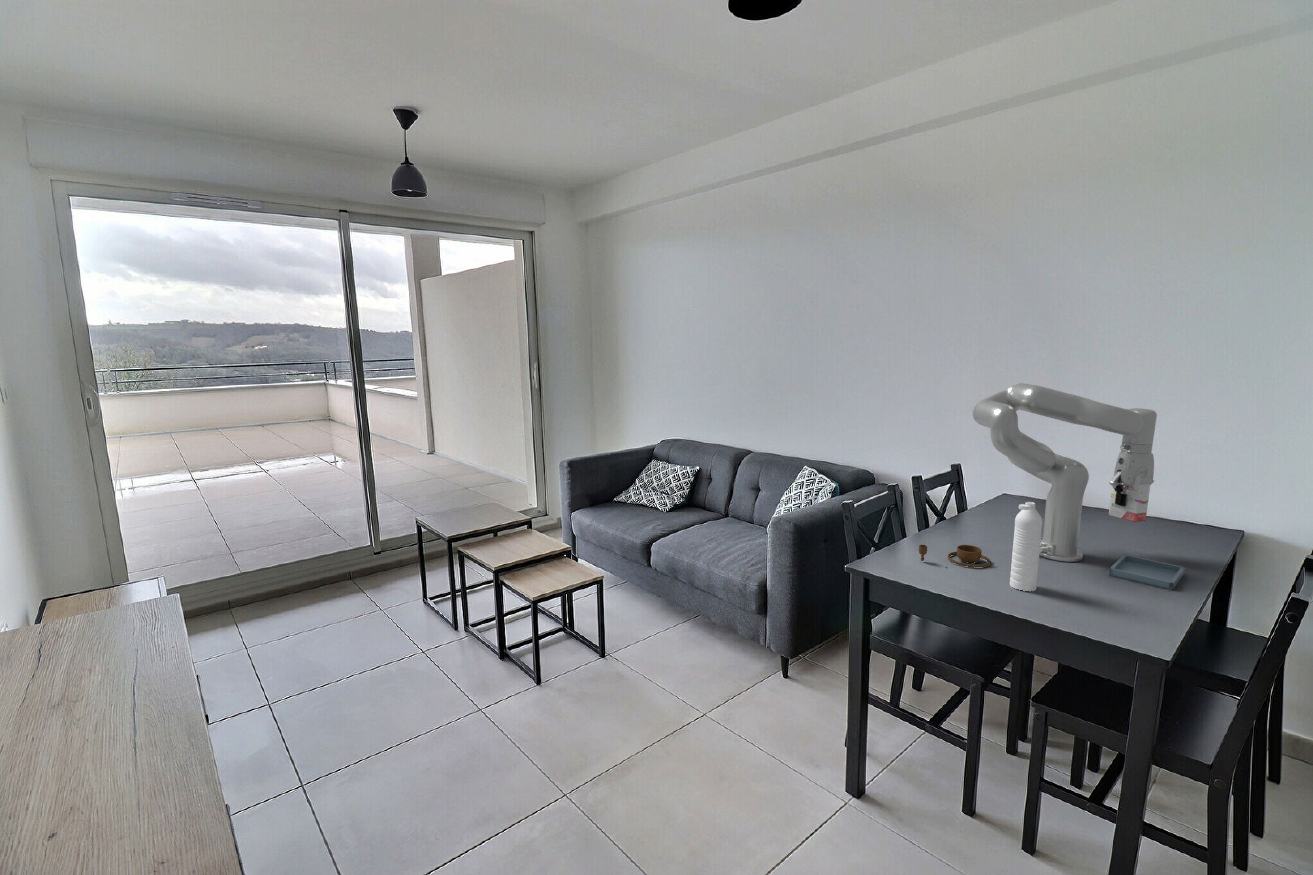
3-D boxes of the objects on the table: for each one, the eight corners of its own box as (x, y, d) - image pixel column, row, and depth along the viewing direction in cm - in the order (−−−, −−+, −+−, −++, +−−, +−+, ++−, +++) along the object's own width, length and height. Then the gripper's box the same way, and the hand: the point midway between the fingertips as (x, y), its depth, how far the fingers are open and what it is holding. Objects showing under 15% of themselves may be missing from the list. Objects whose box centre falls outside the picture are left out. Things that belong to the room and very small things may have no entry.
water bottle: (1014, 580, 177) (1022, 497, 173) (1039, 587, 172) (1047, 502, 168) (1002, 589, 172) (1009, 503, 167) (1027, 596, 167) (1035, 508, 163)
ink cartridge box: (1146, 521, 190) (1153, 475, 187) (1135, 522, 188) (1141, 476, 186) (1118, 513, 198) (1124, 469, 195) (1107, 514, 196) (1113, 470, 194)
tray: (1172, 590, 169) (1173, 583, 168) (1108, 575, 179) (1109, 568, 179) (1184, 574, 179) (1185, 567, 179) (1123, 560, 190) (1124, 554, 190)
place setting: (988, 576, 182) (989, 557, 181) (916, 565, 192) (917, 547, 191) (990, 557, 197) (991, 540, 196) (923, 547, 207) (924, 531, 206)
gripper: (1123, 451, 184) (1115, 509, 187) (1171, 450, 187) (1163, 506, 190) (1101, 447, 191) (1094, 502, 195) (1148, 445, 194) (1140, 500, 197)
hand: (1128, 504), depth 192 cm, fingers closed on ink cartridge box, 5 cm apart
